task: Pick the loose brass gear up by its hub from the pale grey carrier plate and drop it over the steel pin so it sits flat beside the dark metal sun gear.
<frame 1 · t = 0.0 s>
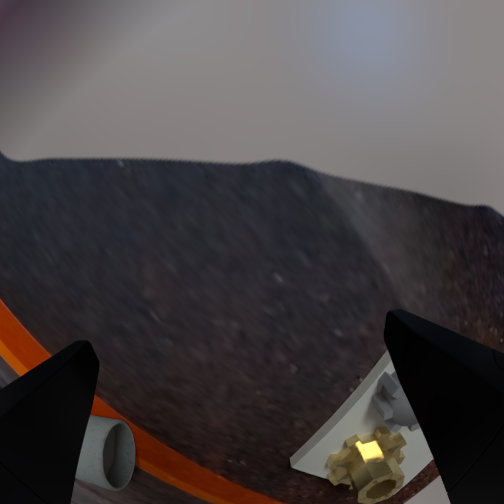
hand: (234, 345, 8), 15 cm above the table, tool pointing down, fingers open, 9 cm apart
carrier: (401, 424, 26), on the table
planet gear: (366, 456, 25), point 1 cm above the table, touching carrier
ceramic mug: (106, 436, 26), on the table
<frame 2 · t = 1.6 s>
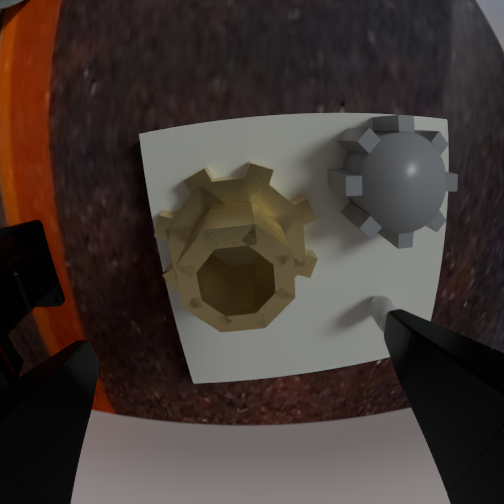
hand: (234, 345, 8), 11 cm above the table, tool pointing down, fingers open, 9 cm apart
carrier: (312, 254, 19), on the table
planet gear: (236, 240, 17), point 1 cm above the table, touching carrier
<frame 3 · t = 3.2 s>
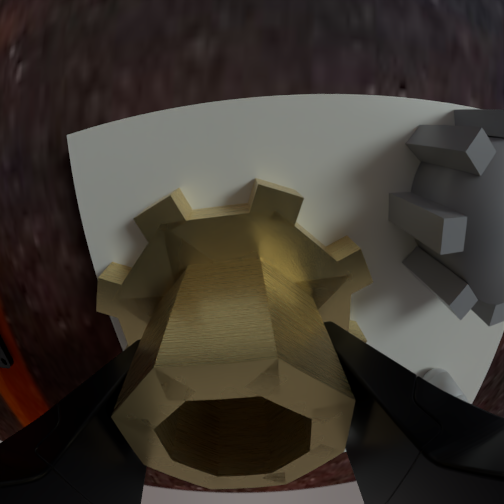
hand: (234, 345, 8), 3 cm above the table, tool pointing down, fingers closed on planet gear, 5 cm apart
carrier: (349, 318, 12), on the table
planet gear: (234, 311, 10), point 2 cm above the table, touching carrier, gripper
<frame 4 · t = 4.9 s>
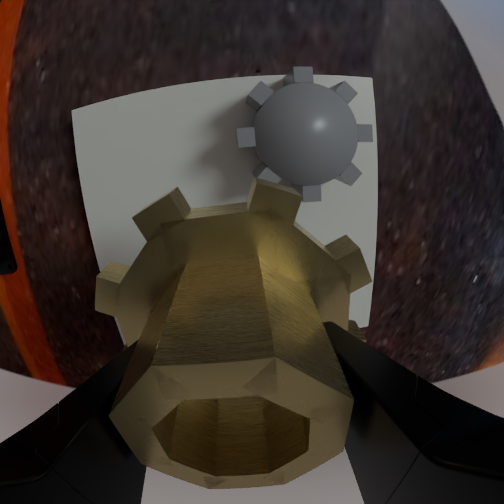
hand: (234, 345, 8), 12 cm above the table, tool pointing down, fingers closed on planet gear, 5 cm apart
carrier: (232, 219, 19), on the table
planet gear: (233, 310, 10), point 10 cm above the table, touching gripper
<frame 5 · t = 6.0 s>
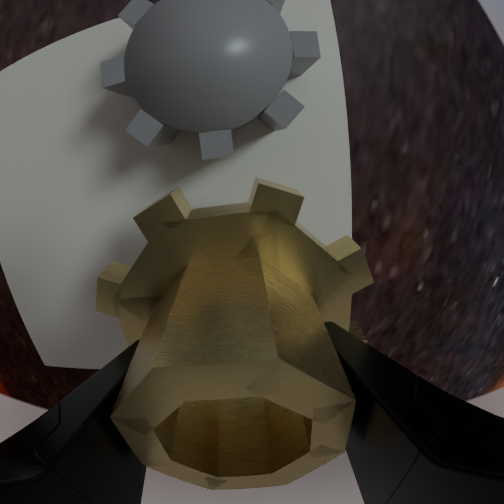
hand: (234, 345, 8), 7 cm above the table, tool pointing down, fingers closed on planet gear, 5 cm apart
carrier: (142, 201, 13), on the table
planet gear: (234, 310, 10), point 5 cm above the table, touching gripper
when the fingers open (4 cm above the table, at t = 6.9 s): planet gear stays where it is, resting on carrier.
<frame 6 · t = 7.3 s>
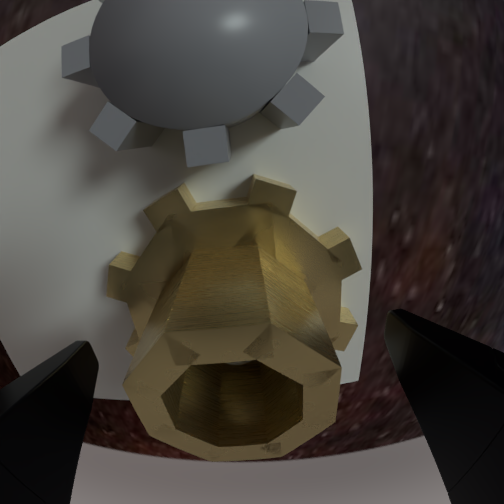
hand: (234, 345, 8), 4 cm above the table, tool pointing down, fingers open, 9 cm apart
carrier: (124, 214, 11), on the table
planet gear: (234, 297, 11), point 1 cm above the table, touching carrier
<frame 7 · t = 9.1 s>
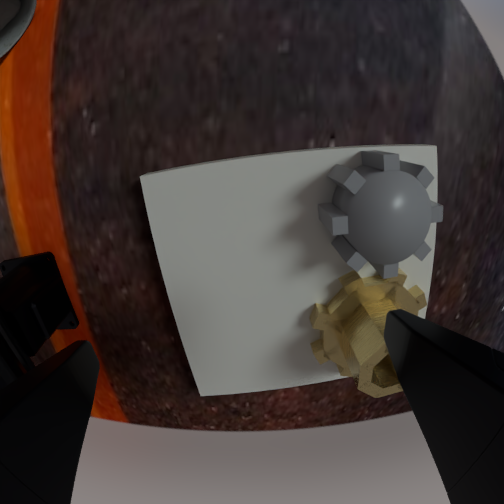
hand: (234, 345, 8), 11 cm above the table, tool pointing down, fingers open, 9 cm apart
carrier: (307, 279, 20), on the table
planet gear: (367, 320, 20), point 1 cm above the table, touching carrier
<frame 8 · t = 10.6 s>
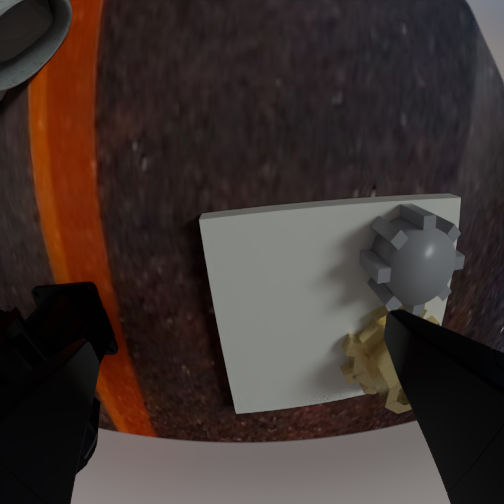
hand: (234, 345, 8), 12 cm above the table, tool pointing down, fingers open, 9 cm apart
carrier: (340, 311, 22), on the table
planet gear: (389, 346, 22), point 1 cm above the table, touching carrier
ceramic mug: (24, 47, 14), on the table
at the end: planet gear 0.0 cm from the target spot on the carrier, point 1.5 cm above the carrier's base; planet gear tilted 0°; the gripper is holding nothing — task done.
